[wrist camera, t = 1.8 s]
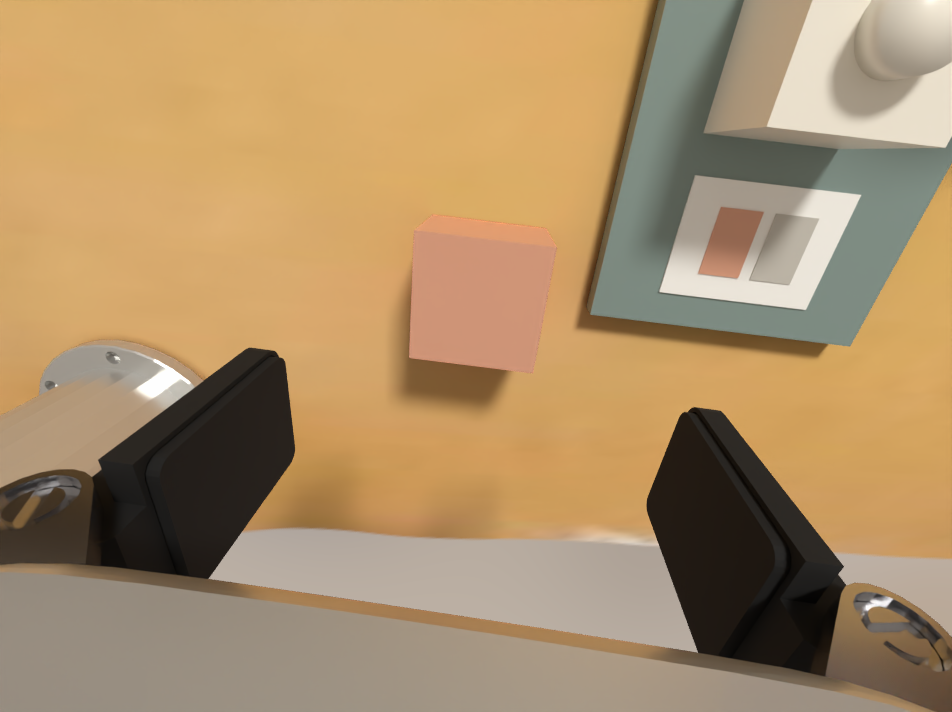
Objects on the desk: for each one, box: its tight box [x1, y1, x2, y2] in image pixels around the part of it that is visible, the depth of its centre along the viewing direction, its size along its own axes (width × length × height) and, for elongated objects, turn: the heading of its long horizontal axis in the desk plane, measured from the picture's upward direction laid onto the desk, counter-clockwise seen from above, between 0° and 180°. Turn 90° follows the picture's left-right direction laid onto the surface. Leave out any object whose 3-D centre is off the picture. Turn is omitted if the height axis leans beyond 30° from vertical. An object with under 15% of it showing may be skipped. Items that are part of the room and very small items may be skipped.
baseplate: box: [586, 0, 952, 346], centre depth 17 cm, size 16×14×7 cm
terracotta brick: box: [409, 215, 557, 373], centre depth 21 cm, size 6×6×5 cm
